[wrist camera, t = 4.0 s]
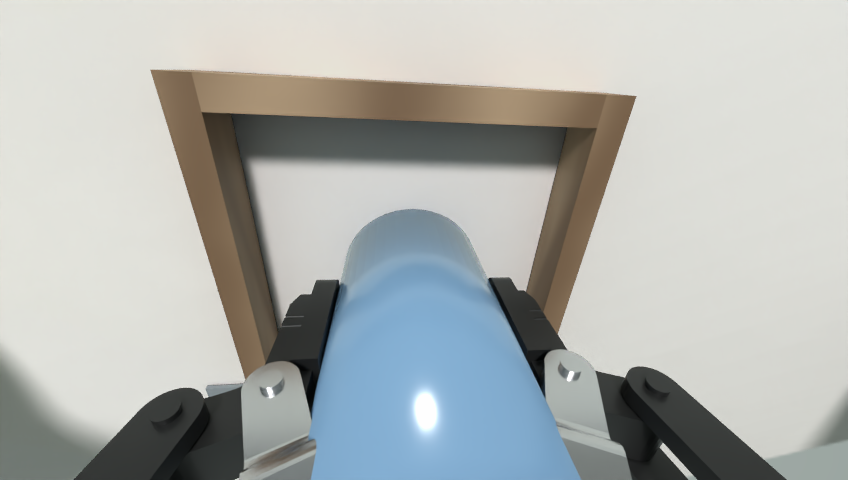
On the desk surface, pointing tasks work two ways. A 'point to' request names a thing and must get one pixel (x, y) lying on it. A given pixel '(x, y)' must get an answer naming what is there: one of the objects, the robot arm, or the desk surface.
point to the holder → (388, 100)
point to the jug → (427, 367)
